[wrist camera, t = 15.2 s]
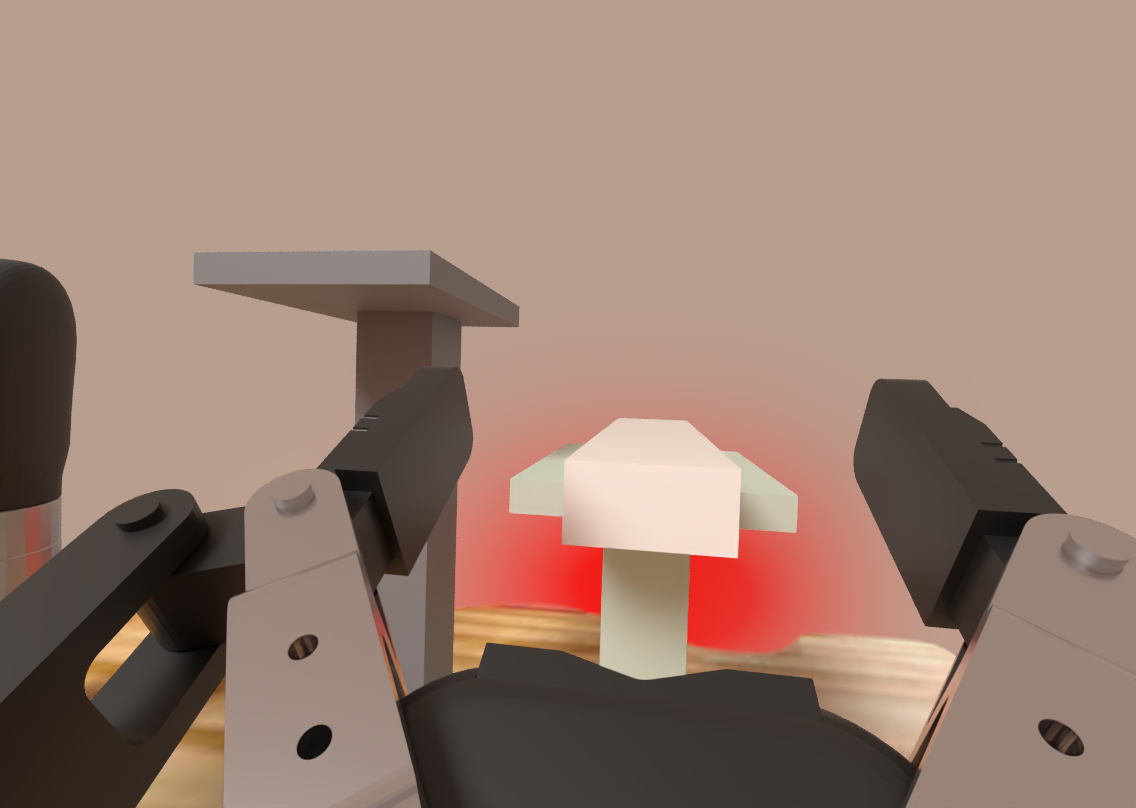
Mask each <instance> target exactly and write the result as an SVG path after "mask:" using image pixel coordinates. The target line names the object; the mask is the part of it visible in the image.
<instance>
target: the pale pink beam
mask: <svg viewBox="0 0 1136 808" xmlns="http://www.w3.org/2000/svg"><path fill="white" fill-rule="evenodd" d="M740 489H741V469H740V468H739V467H738V466H737V465H736V464H735V463H734V462H733V461H731V460H730V459H729V458H728V457H727V456H726V455H725V454H724V453H722V452H721V451H720V450H719V449H718V448H717V447H716V446H715V445H713V444H712V443H711V442H710V441H709V440H708V439H707V438H705V437H704V436H703V435H702V434H701V433H700V432H699V431H698V430H696V429H695V428H694V427H693V426H692V425H691V424H690V423H689V422H687V421H679V420H677V421H676V420H653V419H628V418H619V419H617V420H616V421H615V422H613V423H612V424H611V425H609V426H608V427H607V428H605V429H604V430H603V431H602V432H600V433H599V434H598V435H596V436H595V437H594V438H592V439H591V440H590V441H589V442H587V443H586V444H585V445H583V446H582V447H581V448H579V449H578V450H577V451H576V452H574V453H573V454H572V455H570V456H569V457H568V458H566V459H565V463H564V495H563V526H562V530H563V531H562V544H565V545H577V546H591V547H603V548H616V549H628V550H641V551H654V552H667V553H680V554H692V555H693V554H694V555H705V556H719V557H731V558H738V538H739V514H740Z"/></svg>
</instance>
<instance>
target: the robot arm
mask: <svg viewBox="0 0 1136 808" xmlns="http://www.w3.org/2000/svg"><path fill="white" fill-rule="evenodd" d="M76 341H77V338H76V323H75V317H74V313H73V308H72V304H71V301H70V299H69V297H68V295H67V293H66V290H65V289H64V287H63V286H62V285H61V283H60V282H59V281H58V279H56V277H55V276H53V275H52V274H51V273H50V272H48V271H47V270H45V269H44V268H42V267H39V266H37V265H34V264H31V263H27V262H22V261H15V260H7V259H0V808H136V806H137V805H138V803H139V802H140V800H141V799H142V797H143V796H144V794H145V793H146V791H147V790H148V788H149V787H150V785H151V784H152V782H153V781H154V779H155V778H156V776H157V775H158V773H159V772H160V770H161V769H162V768H163V766H164V765H165V763H166V762H167V760H168V759H169V757H170V756H171V754H172V753H173V751H174V750H175V748H176V747H177V745H178V744H179V742H180V741H181V739H182V738H183V736H184V735H185V733H186V732H187V730H188V729H189V727H190V726H191V725H192V723H193V722H194V720H195V719H196V717H197V716H198V714H199V713H200V711H201V710H202V708H203V707H204V705H205V704H206V702H207V701H208V699H209V698H210V696H211V695H212V693H213V692H214V690H215V689H216V687H217V686H218V685H219V683H220V682H221V680H222V679H223V677H224V676H225V674H226V695H225V743H224V791H223V808H1136V539H1135V538H1133V537H1131V536H1130V535H1128V534H1126V533H1124V532H1122V531H1120V530H1118V529H1116V528H1113V527H1111V526H1108V525H1106V524H1103V523H1100V522H1097V521H1094V520H1091V519H1087V518H1083V517H1079V516H1074V515H1068V514H1067V513H1066V512H1065V511H1064V510H1063V509H1062V508H1061V507H1060V505H1058V503H1057V502H1056V501H1055V500H1054V499H1053V498H1052V497H1051V496H1050V495H1049V493H1048V492H1047V491H1046V490H1045V489H1044V488H1043V487H1042V486H1041V485H1040V484H1039V483H1038V482H1037V480H1036V479H1035V478H1034V477H1033V476H1032V475H1031V474H1030V473H1029V472H1028V471H1027V469H1026V468H1025V467H1024V466H1023V465H1022V464H1020V463H1017V459H1016V458H1015V456H1014V455H1013V454H1012V453H1011V452H1010V451H1009V450H1008V449H1007V448H1006V447H1002V444H1003V443H1002V442H1001V441H1000V440H999V439H998V438H997V437H996V436H995V435H994V434H993V432H992V431H991V430H990V429H989V428H988V427H987V426H986V425H985V424H984V423H982V422H980V421H978V420H977V419H975V418H974V417H972V416H970V415H969V414H967V413H965V412H964V411H962V410H960V409H959V408H950V407H949V405H948V404H947V403H946V402H945V401H944V400H943V398H942V397H941V396H940V395H939V394H938V393H937V391H936V390H935V389H934V388H933V387H932V386H931V385H930V383H929V382H928V381H925V380H905V379H904V380H903V379H878V380H877V381H876V382H875V383H874V385H873V387H872V389H871V392H870V395H869V399H868V402H867V406H866V410H865V413H864V417H863V421H862V424H861V428H860V432H859V435H858V439H857V442H856V446H855V450H854V472H855V477H856V480H857V483H858V485H859V487H860V489H861V491H862V493H863V495H864V497H865V500H866V501H867V504H868V506H869V508H870V510H871V512H872V514H873V517H874V519H875V521H876V523H877V525H878V527H879V529H880V531H881V534H882V536H883V538H884V540H885V542H886V544H887V546H888V548H889V551H890V553H891V555H892V557H893V559H894V561H895V563H896V565H897V568H898V570H899V572H900V574H901V576H902V578H903V580H904V582H905V584H906V586H907V589H908V591H909V593H910V595H911V597H912V599H913V601H914V604H915V606H916V608H917V610H918V612H919V614H920V616H921V618H922V621H923V623H924V624H925V626H928V627H939V628H951V629H959V631H960V633H961V634H962V637H963V638H964V642H963V644H962V646H961V648H960V650H959V652H958V654H957V656H956V658H955V660H954V662H953V665H952V667H951V669H950V671H949V673H948V675H947V678H946V680H945V682H944V684H943V686H942V689H941V691H940V693H939V695H938V697H937V699H936V702H935V704H934V706H933V708H932V710H931V713H930V715H929V717H928V719H927V721H926V723H925V726H924V728H923V730H922V732H921V734H920V736H919V739H918V741H917V743H916V745H915V747H914V749H913V751H912V753H911V755H910V757H909V759H908V760H907V759H906V758H905V757H904V756H902V755H901V754H900V753H899V752H897V751H896V750H895V749H893V748H892V747H890V746H889V745H888V744H886V743H885V742H883V741H882V740H881V739H879V738H878V737H876V736H875V735H873V734H871V733H870V732H868V731H866V730H865V729H863V728H861V727H859V726H858V725H856V724H854V723H852V722H850V721H848V720H846V719H844V718H842V717H840V716H838V715H836V714H834V713H831V712H829V711H826V710H823V709H821V708H820V707H819V703H818V699H817V695H816V691H815V687H814V683H813V679H810V678H801V677H792V676H783V675H774V674H765V673H756V672H747V671H738V670H729V669H724V670H717V671H710V672H702V673H695V674H687V675H680V676H672V677H665V678H657V679H650V680H641V679H636V678H632V677H630V676H627V675H624V674H622V673H619V672H616V671H614V670H611V669H608V668H606V667H603V666H600V665H598V664H595V663H592V662H590V661H587V660H584V659H582V658H579V657H576V656H574V655H571V654H568V653H566V652H563V651H558V650H549V649H540V648H531V647H522V646H513V645H504V644H495V643H486V647H485V650H484V653H483V656H482V659H481V662H480V666H479V668H474V669H468V670H464V671H460V672H456V673H453V674H450V675H447V676H444V677H442V678H439V679H437V680H434V681H432V682H430V683H428V684H426V685H424V686H422V687H420V688H418V689H416V690H414V691H413V692H411V693H410V694H409V693H408V690H407V687H406V684H405V681H404V677H403V674H402V671H401V667H400V664H399V660H398V657H397V653H396V650H395V646H394V643H393V639H392V636H391V632H390V629H389V626H388V622H387V619H386V615H385V612H384V608H383V605H382V601H381V598H380V595H379V592H378V589H377V586H378V584H379V582H380V581H381V579H382V577H383V575H384V574H390V575H400V576H409V574H410V572H411V570H412V568H413V567H414V565H415V563H416V561H417V559H418V557H419V555H420V553H421V551H422V549H423V547H424V545H425V543H426V541H427V539H428V537H429V535H430V534H431V532H432V530H433V528H434V526H435V524H436V522H437V520H438V518H439V516H440V514H441V512H442V510H443V508H444V506H445V504H446V502H447V501H448V499H449V497H450V495H451V493H452V491H453V489H454V487H455V485H456V483H457V481H458V479H459V477H460V475H461V473H462V471H463V470H464V468H465V466H466V463H467V462H468V459H469V458H470V455H471V451H472V444H473V431H472V425H471V418H470V413H469V407H468V401H467V395H466V390H465V384H464V379H463V375H462V372H461V370H460V369H459V368H458V367H439V366H422V367H420V368H419V369H418V371H417V372H416V373H415V374H414V375H413V377H412V378H411V379H410V380H409V381H408V383H407V384H406V385H405V386H404V387H403V388H397V389H395V390H394V391H392V392H390V393H389V394H387V395H385V396H384V397H382V398H380V399H379V400H377V401H376V402H375V403H374V405H373V406H372V407H371V408H370V409H369V410H368V411H367V412H366V413H365V415H364V418H361V419H360V420H359V421H358V422H357V424H356V425H355V426H354V427H353V431H352V430H351V431H349V433H348V434H347V435H346V436H345V437H344V438H343V439H342V440H341V442H340V443H339V444H338V445H337V446H336V447H335V448H334V449H333V451H332V452H331V453H330V454H329V455H328V456H327V457H326V458H325V459H324V461H323V462H322V463H321V464H320V465H319V466H318V467H317V469H305V470H300V471H295V472H292V473H289V474H286V475H283V476H280V477H278V478H276V479H274V480H272V481H270V482H269V483H267V484H265V485H264V486H263V487H261V488H260V489H259V490H258V491H256V492H255V493H254V494H253V496H252V497H251V498H250V499H249V501H248V502H247V504H246V506H245V507H239V508H233V509H226V510H220V511H214V512H208V513H202V512H201V510H200V508H199V506H198V504H197V502H196V501H195V499H194V497H193V496H192V494H190V493H189V492H187V491H184V490H179V489H167V490H159V491H155V492H151V493H148V494H144V495H141V496H139V497H136V498H133V499H131V500H129V501H127V502H124V503H123V504H121V505H119V506H117V507H115V508H114V509H112V510H111V511H109V512H107V513H106V514H105V515H104V516H102V517H101V518H100V519H98V520H97V521H96V522H95V523H94V524H92V525H91V526H90V527H89V528H88V529H87V530H85V531H84V532H83V533H82V534H80V535H79V536H78V537H77V538H76V539H74V540H73V541H72V542H71V543H70V544H68V545H67V546H66V547H65V548H64V549H62V550H61V488H62V474H63V470H64V466H65V462H66V459H67V455H68V450H69V445H70V430H71V411H72V410H71V409H72V397H73V396H72V395H73V385H74V373H75V363H76V343H77V342H76ZM136 612H137V614H138V615H139V617H140V618H141V619H142V621H143V622H144V624H145V625H146V626H147V628H148V629H149V631H150V633H149V634H148V635H147V636H146V638H145V639H144V640H143V641H142V642H141V643H140V645H139V646H138V647H137V648H136V649H135V650H134V652H133V653H132V654H131V655H130V656H129V657H128V659H127V660H126V661H125V662H124V663H123V664H122V665H121V667H120V668H119V669H118V670H117V671H116V672H115V674H114V675H113V676H112V677H111V678H110V679H109V681H108V682H107V683H106V684H105V685H104V686H103V688H102V689H101V690H100V691H99V692H98V693H97V694H96V696H95V697H94V698H93V699H92V700H91V701H90V700H89V699H88V698H87V696H86V693H85V689H84V683H85V677H86V674H87V671H88V669H89V667H90V665H91V663H92V662H93V660H94V659H95V657H96V656H97V655H98V654H99V653H100V651H101V650H102V649H103V648H104V647H105V646H106V645H107V644H108V643H109V642H110V641H111V640H112V638H113V637H114V636H115V635H116V634H117V633H118V632H119V631H120V630H121V629H122V628H123V626H124V625H125V624H126V623H127V622H128V621H129V620H130V619H131V618H132V617H133V616H134V615H135V613H136Z"/></svg>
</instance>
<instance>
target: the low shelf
mask: <svg viewBox="0 0 1136 808" xmlns="http://www.w3.org/2000/svg"><path fill="white" fill-rule="evenodd" d="M583 445H584V444H566V445H565V446H563V447H562V448H560V449H558V450H557V451H555V452H553V453H552V454H550V455H548V456H547V457H545V458H544V459H542V460H540V461H539V462H537V463H535V464H534V465H532V466H531V467H529V468H527V469H526V470H524V471H522V472H521V473H519V474H518V475H516V476H514V477H513V478H511V479H510V511H509V512H510V513H522V514H536V515H550V516H563V495H564V463H565V459H566V458H568V457H569V456H570V455H572V454H573V453H574V452H576V451H577V450H578V449H579V448H581V447H582V446H583ZM721 452H722V453H724V454H725V455H726V456H727V457H728V458H729V459H730V460H731V461H733V462H734V463H735V464H736V465H737V466H738V467H739V468H740V469H741V489H740V514H739V529H751V530H766V531H780V532H794V533H796V528H797V527H796V526H797V505H798V496H797V495H796V494H795V493H793V492H792V491H790V490H789V489H788V488H786V487H785V486H783V485H782V484H781V483H779V482H778V481H777V480H775V479H773V478H772V477H771V476H769V475H768V474H767V473H765V472H764V471H762V470H761V469H760V468H758V467H757V466H756V465H754V464H753V463H752V462H750V461H749V460H747V459H746V458H745V457H743V456H742V455H740V454H739V453H738V452H729V451H721ZM689 569H690V554H680V553H667V552H654V551H641V550H628V549H616V548H603V575H602V604H601V607H602V608H601V634H600V663H599V665H600V666H603V667H606V668H608V669H611V670H614V671H616V672H619V673H622V674H624V675H627V676H630V677H632V678H636V679H641V680H650V679H657V678H665V677H672V676H680V675H686V649H687V623H688V597H689Z"/></svg>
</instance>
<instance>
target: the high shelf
mask: <svg viewBox="0 0 1136 808" xmlns="http://www.w3.org/2000/svg"><path fill="white" fill-rule="evenodd" d="M194 284H195V285H199V286H204V287H208V288H212V289H217V290H221V291H225V292H229V293H234V294H238V295H242V296H247V297H251V298H255V299H259V300H264V301H268V302H272V303H276V304H281V305H286V306H289V307H294V308H298V309H302V310H306V311H311V312H315V313H319V314H324V315H328V316H332V317H336V318H341V319H345V320H349V321H353V322H357V354H356V403H355V425H356V424H357V422H358V421H359V420H360V419H361V418H364V415H365V413H366V412H367V411H368V410H369V409H370V408H371V407H372V406H373V405H374V403H375V402H376V401H377V400H379V399H380V398H382V397H384V396H385V395H387V394H389V393H390V392H392V391H394V390H395V389H397V388H403V387H404V386H405V385H406V384H407V383H408V381H409V380H410V379H411V378H412V377H413V375H414V374H415V373H416V372H417V371H418V369H419V368H420V367H422V366H439V367H458V368H459V369H460V361H461V326H478V327H484V326H485V327H518V326H519V306H517V305H515V304H514V303H512V302H511V301H509V300H508V299H506V298H505V297H503V296H501V295H500V294H498V293H496V292H495V291H493V290H492V289H490V288H489V287H487V286H486V285H484V284H482V283H481V282H479V281H477V280H476V279H475V278H473V277H471V276H469V275H468V274H467V273H465V272H464V271H462V270H460V269H459V268H457V267H456V266H454V265H452V264H451V263H449V262H448V261H446V260H445V259H443V258H441V257H440V256H438V255H437V254H435V253H433V252H432V251H333V252H330V251H327V252H231V253H230V252H224V253H223V252H222V253H194ZM456 517H457V483H456V485H455V487H454V489H453V491H452V493H451V495H450V497H449V499H448V501H447V502H446V504H445V506H444V508H443V510H442V512H441V514H440V516H439V518H438V520H437V522H436V524H435V526H434V528H433V530H432V532H431V534H430V535H429V537H428V539H427V541H426V543H425V545H424V547H423V549H422V551H421V553H420V555H419V557H418V559H417V561H416V563H415V565H414V567H413V568H412V570H411V572H410V574H409V576H400V575H390V574H384V575H383V577H382V579H381V581H380V582H379V584H378V586H377V589H378V592H379V595H380V598H381V601H382V605H383V608H384V612H385V615H386V619H387V622H388V626H389V629H390V632H391V636H392V639H393V643H394V646H395V650H396V653H397V657H398V660H399V664H400V667H401V671H402V674H403V677H404V681H405V684H406V687H407V690H408V693H409V694H410V693H411V692H413V691H414V690H416V689H418V688H420V687H422V686H424V685H426V684H428V683H430V682H432V681H434V680H437V679H439V678H442V677H444V676H447V675H450V674H452V671H453V632H454V593H455V592H454V591H455V555H456Z"/></svg>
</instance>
